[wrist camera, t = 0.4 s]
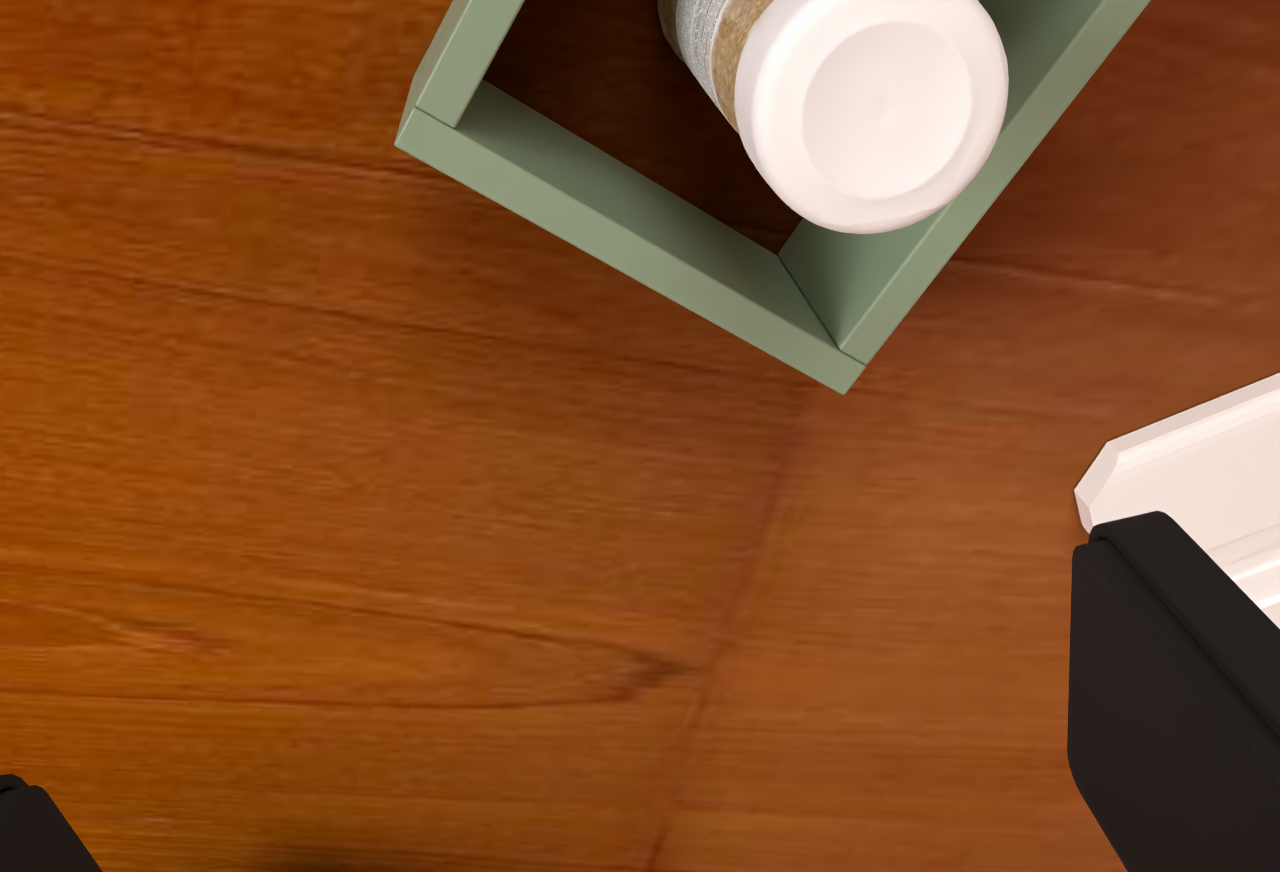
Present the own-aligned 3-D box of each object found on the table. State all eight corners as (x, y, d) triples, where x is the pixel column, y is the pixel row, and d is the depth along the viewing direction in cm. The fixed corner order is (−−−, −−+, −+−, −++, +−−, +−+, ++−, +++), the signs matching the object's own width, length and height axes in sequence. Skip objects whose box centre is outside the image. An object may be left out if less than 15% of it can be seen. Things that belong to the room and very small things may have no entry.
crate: (667, -415, 25) (723, -486, 19) (1056, -87, 30) (1200, -61, 24) (412, 78, 30) (393, 145, 24) (782, 294, 34) (844, 396, 28)
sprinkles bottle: (834, -74, 29) (1060, 0, 18) (788, 95, 31) (962, 261, 20) (672, -114, 28) (798, -62, 17) (636, 64, 30) (724, 218, 19)
